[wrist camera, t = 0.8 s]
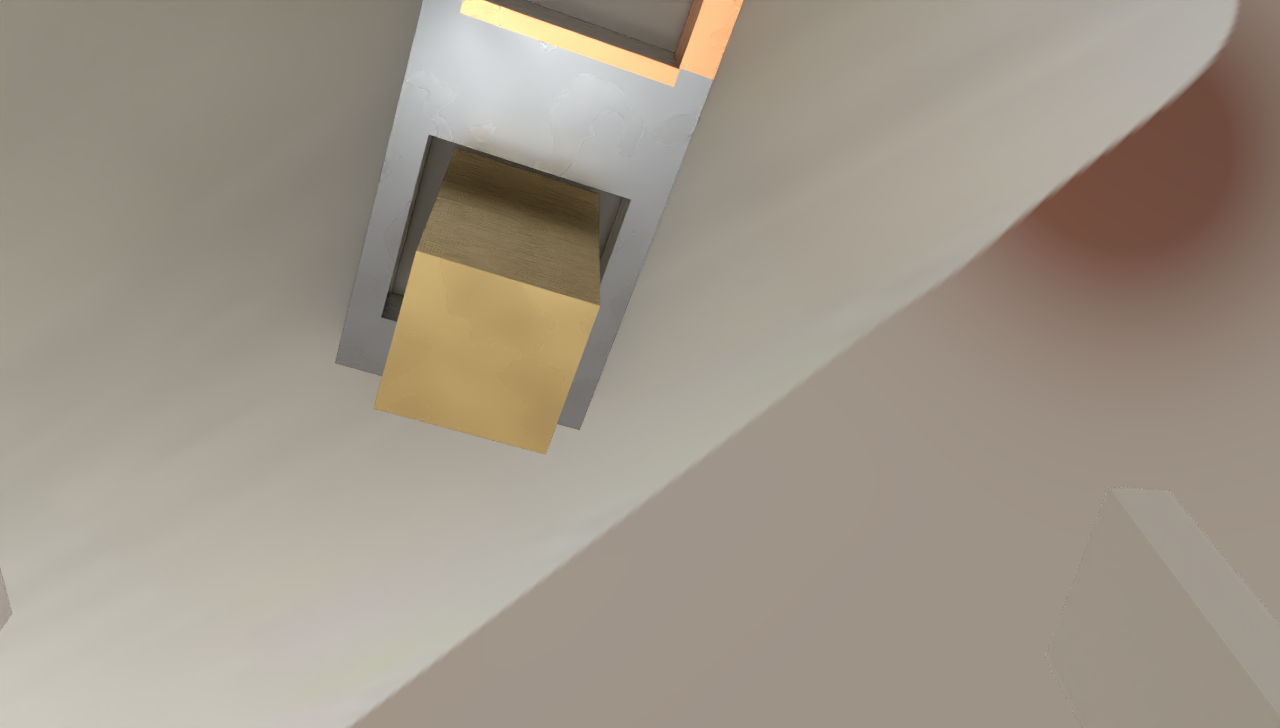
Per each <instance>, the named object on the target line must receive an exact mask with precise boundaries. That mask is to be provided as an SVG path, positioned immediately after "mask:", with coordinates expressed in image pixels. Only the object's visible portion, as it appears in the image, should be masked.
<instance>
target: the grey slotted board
mask: <svg viewBox="0 0 1280 728" xmlns="http://www.w3.org/2000/svg"><path fill="white" fill-rule="evenodd" d="M743 1H744V0H694V1H693V4H692V7H691V10H690V12H689V15H688V18H687V21H686V23H685V26H684V29H683V32H682V35H681V37H680V40H679V43H678V46H677V48H676V51H675V53H672V52H669V51H667V50H664V49H661V48H658V47H655V46H652V45H650V44H647V43H644V42H641V41H638V40H636V39H633V38H630V37H627V36H624V35H621V34H619V33H616V32H613V31H610V30H607V29H604V28H602V27H599V26H596V25H593V24H590V23H588V22H585V21H582V20H579V19H576V18H573V17H571V16H568V15H565V14H562V13H559V12H557V11H554V10H551V9H548V8H545V7H542V6H540V5H537V4H534V3H531V2H528V1H525V0H423V3H422V7H421V11H420V15H419V20H418V24H417V28H416V32H415V36H414V40H413V44H412V48H411V52H410V57H409V61H408V65H407V69H406V73H405V77H404V81H403V85H402V90H401V94H400V98H399V102H398V106H397V110H396V114H395V118H394V122H393V127H392V131H391V135H390V139H389V143H388V147H387V151H386V155H385V160H384V164H383V168H382V172H381V176H380V180H379V184H378V188H377V193H376V197H375V201H374V205H373V209H372V213H371V217H370V221H369V225H368V230H367V234H366V238H365V242H364V246H363V250H362V254H361V258H360V263H359V267H358V271H357V275H356V279H355V283H354V287H353V291H352V295H351V300H350V304H349V308H348V312H347V316H346V320H345V324H344V328H343V333H342V337H341V341H340V345H339V349H338V353H337V357H336V361H335V363H336V364H340V365H344V366H347V367H351V368H355V369H358V370H362V371H366V372H369V373H373V374H377V375H380V376H383V372H384V369H385V365H386V361H387V357H388V354H389V350H390V346H391V343H392V339H393V335H394V331H395V328H396V324H397V320H398V316H399V313H400V309H401V305H402V302H403V298H404V296H401V295H398V294H394V293H391V291H392V287H393V283H394V280H395V276H396V272H397V268H398V264H399V260H400V257H401V253H402V249H403V245H404V241H405V238H406V234H407V230H408V226H409V222H410V219H411V215H412V211H413V207H414V203H415V199H416V196H417V192H418V188H419V184H420V180H421V177H422V173H423V169H424V165H425V161H426V157H427V154H428V150H429V146H430V142H431V138H432V136H435V137H438V138H441V139H444V140H447V141H450V142H454V143H457V144H460V145H463V146H466V147H469V148H472V149H475V150H478V151H482V152H485V153H488V154H491V155H494V156H497V157H500V158H503V159H506V160H509V161H513V162H516V163H519V164H522V165H525V166H528V167H531V168H534V169H537V170H540V171H544V172H547V173H550V174H553V175H556V176H559V177H562V178H565V179H568V180H572V181H575V182H578V183H581V184H584V185H587V186H590V187H593V188H596V189H599V190H603V191H606V192H609V193H612V194H615V195H618V196H621V197H623V198H622V201H621V204H620V207H619V210H618V212H617V215H616V218H615V221H614V223H613V226H612V229H611V232H610V235H609V237H608V240H607V243H606V246H605V248H604V251H603V254H602V257H601V259H600V262H599V263H600V308H599V311H598V313H597V316H596V319H595V322H594V324H593V327H592V330H591V332H590V335H589V338H588V341H587V343H586V346H585V349H584V351H583V354H582V357H581V360H580V362H579V365H578V368H577V370H576V373H575V376H574V379H573V381H572V384H571V387H570V389H569V392H568V395H567V398H566V400H565V403H564V406H563V408H562V411H561V414H560V417H559V419H558V422H557V424H560V425H563V426H567V427H571V428H574V429H578V430H580V428H581V425H582V422H583V420H584V417H585V415H586V412H587V409H588V407H589V404H590V401H591V399H592V396H593V394H594V391H595V388H596V386H597V383H598V380H599V378H600V375H601V373H602V370H603V367H604V365H605V362H606V360H607V357H608V354H609V352H610V349H611V346H612V344H613V341H614V339H615V336H616V333H617V331H618V328H619V325H620V323H621V320H622V318H623V315H624V312H625V310H626V307H627V304H628V302H629V299H630V297H631V294H632V291H633V289H634V286H635V284H636V281H637V278H638V276H639V273H640V270H641V268H642V265H643V263H644V260H645V257H646V255H647V252H648V249H649V247H650V244H651V242H652V239H653V236H654V234H655V231H656V229H657V226H658V223H659V221H660V218H661V215H662V213H663V210H664V208H665V205H666V202H667V200H668V197H669V194H670V192H671V189H672V187H673V184H674V181H675V179H676V176H677V174H678V171H679V168H680V166H681V163H682V160H683V158H684V155H685V153H686V150H687V147H688V145H689V142H690V139H691V137H692V134H693V132H694V129H695V126H696V124H697V121H698V118H699V116H700V113H701V111H702V108H703V105H704V103H705V100H706V98H707V95H708V92H709V90H710V87H711V84H712V82H713V79H714V77H715V74H716V71H717V69H718V66H719V63H720V61H721V58H722V56H723V53H724V50H725V48H726V45H727V43H728V40H729V37H730V35H731V32H732V29H733V27H734V24H735V22H736V19H737V16H738V14H739V11H740V8H741V6H742V3H743Z"/></svg>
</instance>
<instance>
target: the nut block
mask: <svg viewBox="0 0 1280 728" xmlns="http://www.w3.org/2000/svg"><path fill="white" fill-rule="evenodd" d="M599 308H600V263H599V206H598V194H597V193H594V192H591V191H588V190H585V189H582V188H579V187H576V186H573V185H569V184H566V183H563V182H560V181H557V180H554V179H551V178H548V177H545V176H541V175H538V174H535V173H532V172H529V171H526V170H523V169H520V168H517V167H513V166H510V165H507V164H504V163H501V162H498V161H495V160H492V159H489V158H485V157H482V156H479V155H476V154H473V153H470V152H467V151H464V150H461V149H457V148H455V151H454V154H453V156H452V159H451V162H450V164H449V167H448V169H447V172H446V175H445V177H444V180H443V182H442V185H441V188H440V190H439V193H438V195H437V198H436V201H435V203H434V206H433V208H432V211H431V214H430V216H429V219H428V221H427V224H426V227H425V229H424V232H423V234H422V237H421V240H420V242H419V245H418V247H417V250H416V253H415V257H414V261H413V264H412V268H411V272H410V276H409V279H408V283H407V287H406V290H405V294H404V298H403V302H402V305H401V309H400V313H399V316H398V320H397V324H396V328H395V331H394V335H393V339H392V343H391V346H390V350H389V354H388V357H387V361H386V365H385V369H384V372H383V376H382V380H381V383H380V387H379V391H378V395H377V398H376V402H375V406H374V409H377V410H381V411H385V412H388V413H392V414H396V415H400V416H403V417H407V418H411V419H415V420H418V421H422V422H426V423H430V424H433V425H437V426H441V427H445V428H448V429H452V430H456V431H460V432H463V433H467V434H471V435H475V436H478V437H482V438H486V439H490V440H493V441H497V442H501V443H505V444H508V445H512V446H516V447H520V448H523V449H527V450H531V451H535V452H538V453H542V454H546V452H547V449H548V446H549V444H550V441H551V438H552V436H553V433H554V430H555V427H556V425H557V422H558V419H559V417H560V414H561V411H562V408H563V406H564V403H565V400H566V398H567V395H568V392H569V389H570V387H571V384H572V381H573V379H574V376H575V373H576V370H577V368H578V365H579V362H580V360H581V357H582V354H583V351H584V349H585V346H586V343H587V341H588V338H589V335H590V332H591V330H592V327H593V324H594V322H595V319H596V316H597V313H598V311H599Z"/></svg>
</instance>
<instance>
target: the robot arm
mask: <svg viewBox="0 0 1280 728" xmlns="http://www.w3.org/2000/svg"><path fill="white" fill-rule="evenodd" d="M11 615H12V611H11V607H10V603H9V599H8V595H7V592H6V588H5V584H4V580H3V576H2V572H1V568H0V630H1V629H2V627H3V626H4V625H5V623H6V622H7V620H8V619H9V618H10V616H11ZM1045 659H1046V661H1047V663H1048V665H1049V667H1050V669H1051V671H1052V673H1053V675H1054V677H1055V679H1056V680H1057V682H1058V684H1059V686H1060V688H1061V690H1062V692H1063V694H1064V696H1065V698H1066V700H1067V701H1068V703H1069V705H1070V707H1071V709H1072V711H1073V713H1074V715H1075V717H1076V719H1077V721H1078V723H1079V724H1080V726H1081V728H1280V623H1279V622H1278V621H1277V620H1276V618H1275V617H1274V616H1273V615H1272V613H1271V612H1270V611H1269V610H1268V609H1267V607H1266V606H1265V605H1264V604H1263V603H1262V601H1261V600H1260V599H1259V598H1258V596H1257V595H1256V594H1255V593H1254V592H1253V590H1252V589H1251V588H1250V587H1249V586H1248V584H1247V583H1246V582H1245V581H1244V580H1243V578H1242V577H1241V576H1240V575H1239V574H1238V572H1237V571H1236V570H1235V569H1234V568H1233V566H1232V565H1231V564H1230V563H1229V562H1228V560H1227V559H1226V558H1225V557H1224V556H1223V554H1222V553H1221V552H1220V551H1219V550H1218V548H1217V547H1216V546H1215V545H1214V543H1213V542H1212V541H1211V540H1210V539H1209V537H1208V536H1207V535H1206V534H1205V533H1204V531H1203V530H1202V529H1201V528H1200V527H1199V525H1198V524H1197V523H1196V522H1195V521H1194V520H1193V518H1192V517H1191V516H1190V515H1189V514H1188V512H1187V511H1186V510H1185V509H1184V507H1183V506H1182V505H1181V504H1180V503H1179V501H1178V500H1177V499H1176V498H1175V497H1174V496H1173V494H1172V493H1171V492H1170V490H1151V489H1133V488H1116V487H1108V489H1107V492H1106V495H1105V497H1104V500H1103V503H1102V506H1101V508H1100V511H1099V513H1098V516H1097V519H1096V521H1095V524H1094V527H1093V529H1092V532H1091V535H1090V537H1089V540H1088V543H1087V545H1086V548H1085V551H1084V553H1083V556H1082V559H1081V562H1080V564H1079V567H1078V569H1077V572H1076V575H1075V577H1074V580H1073V583H1072V585H1071V588H1070V591H1069V593H1068V596H1067V599H1066V601H1065V604H1064V607H1063V609H1062V612H1061V615H1060V617H1059V620H1058V623H1057V626H1056V628H1055V631H1054V633H1053V636H1052V639H1051V641H1050V644H1049V647H1048V649H1047V652H1046V655H1045Z"/></svg>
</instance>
